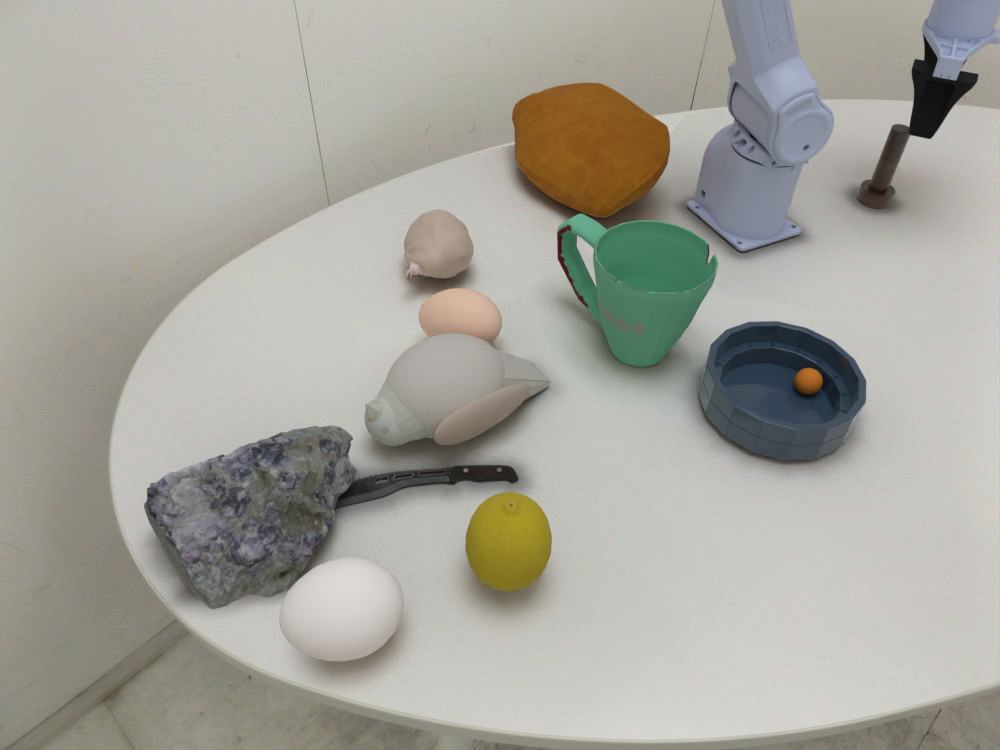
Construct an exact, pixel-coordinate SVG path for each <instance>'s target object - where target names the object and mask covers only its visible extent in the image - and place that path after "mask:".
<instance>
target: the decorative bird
mask: <svg viewBox="0 0 1000 750" xmlns="http://www.w3.org/2000/svg"><path fill="white" fill-rule="evenodd" d="M550 384H551V380H550V379H549V377H547V375H545V373H543V371H542V370H541V369H539V367H538V366H537V365H536V364H535V363H534V362H533V361H530V360H527V359H524V358H522V357H518V356H515V355H512V354H509V353H508V352H504V351H502V350H500V349H496V348H494V347H493V344H492V342H491V343H489V342H488V341H486V340H483V339H480V338H477V337H474V336H470V335H466V334H459V333H449V334H440V335H436V336H432V337H429V336H428V337H427V338H424V339H421V340H420V341H418V342H416V343H414V344H412V345H411V346H409V347H408V348H407V349H405V350H404V351H403V352H402V353H401V354H400V355H399V356H398V357H397V358H396V360H395V361H394V362H393V363H392V365H391V366H390V369H389V370H388V372H387V375H386V378H385V380H384V382H383V383H382V386H381V388H380V390H379V391H378V393H377V396H376V397H375V398H373V399H372V400H371V401H370V402H365V411H364V418H363V419H364V425H365V428H366V430H367V432H368V433H369V435H370V436H371V437H372V438H373V439H374V440H376V441H377V442H379V443H381V444H383V445H385V446H390V447H391V446H392V447H394V446H395V447H397V446H403V445H404V444H407V443H408V442H413V441H417V440H418V441H419V440H422V439H433V440H434V442H435V443H436V444H437V445H440V446H454V445H458V444H461V443H464V442H467V441H469V440H471V439H473V438H475V437H477V436H479V435H481V434H483V433H485V432H486V431H488V430H489V429H491V428H493V427H495V426H496V425H498V424H499V423H501V422H502V421H503V420H505V419H506V418H507V417H509V416H510V415H511V414H512V413H514V411H515V410H517V409H518V408H519V407H520V406H521V405H522V404H523V403H524V402H525V401H526V400H527V399H529V398H531V397H533V396H534V395H536V394H538V393H540V392H542V391H543V390H545V389H547V388H548V387H549V385H550Z"/></svg>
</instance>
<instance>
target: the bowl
mask: <svg viewBox="0 0 1000 750" xmlns="http://www.w3.org/2000/svg"><path fill="white" fill-rule="evenodd" d="M804 368H813V369H815V370H817V371H818V372H819V373H820V374H821V376H822V379H823V384H822V387H821V389H820V390H819V391H818V392H816V393H815V394H811V395H806V394H803V393H801V392H799V391H798V390H797V388H796V387H795V383H794V379H795V376H796V374H797V373H798V372H799V371H800V370H802V369H804ZM698 397H699V400H700V403H701V406H702V408H703V411H704V414H705V416H706V418H707V419H708V420H709V421H710V422H711V423H712V424H713V425H714V426H715V428H717V430H718V431H719V432H720V434H722V436H724V437H725V438H727V439H728V440H730V441H732V442H734V443H735V444H737V445H739V446H741V447H742V448H744V449H745V450H747V451H749V452H751V453H754V454H757V455H761V456H766V457H770V458H773V459H776V460H777V459H778V460H781V461H801V460H816V459H818V458H820V457H823V456H825V455H828V454H830V453H832V452H834V451H837V450H839V449H840V448H841V446H842V445H843V444H844V442H845V441H846V440H847V438H848V437H849V436H850V435H851V433H852V431H853V429H854V428H855V425H856V423H857V421H858V419H859V417H860V415H861V414H862V411H863V409H864V407H865V405H866V403H867V379H866V377H865V375H864V373H863V371H862V369H861V368H860V367H859V364H858V363H857V360H856V359H855V358H854V357H853V356H851V354H849V353H848V352H847V351H846V350H845V349H843V347H841V346H840V345H839V344H838V343H837V342H836V341H834V340H833V339H831V338H829V337H827V336H824V335H823V334H820V333H819V332H816V331H814V330H812V329H810V328H808V327H804V326H800V325H796V324H792V323H788V322H782V321H778V320H769V321H765V320H764V321H748V322H744V323H742V324H739V325H735V326H733V327H730V328H727V329H725V330H724V331H723V332H722V333H721V334H720V335H719V336H718V337H717V338H716V339H715V340H714V341H713V342H712V343H711V344H710V346H709V350H708V353H707V357H706V360H705V364H704V368H703V371H702V374H701V379H700V385H699V387H698Z"/></svg>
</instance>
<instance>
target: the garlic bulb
mask: <svg viewBox="0 0 1000 750" xmlns="http://www.w3.org/2000/svg"><path fill="white" fill-rule="evenodd" d="M403 247H404V252H403V258H404V261H405V264H406V266H407V267H408V269H405V279H406V280H407V281H408V282H409V283H410V284H412V277H413V276H418V275H420V276H424V277H431V278H434V279H445V280H446V279H451V278H454V277H456V276H457V275H458V274H459V273H461V272H463V271H465V270H466V269H468V268H469V266H470V264H471V262H472V260H473V256H474V252H475V251H474V250H475V249H474V243H473V240H472V238H471V237H470V234H469V230H468V227H467V226H466V224H465V223H464V222H463V221H462V220H460V219H459V218H458V217H457V216H455V215H454V214H452V213H451V212H449V211H447V210H445V209H432V210H429V211H426V212H424V213H422V214H420V215H419V216H418V217H417V218H416V219H415V220H414V221H413V222H412V223H410V226H409V227H408V230H407V231H406V234H405V237H404V240H403Z"/></svg>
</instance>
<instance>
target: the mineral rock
mask: <svg viewBox="0 0 1000 750" xmlns="http://www.w3.org/2000/svg"><path fill="white" fill-rule="evenodd" d="M353 440H354V438H353V435H352V434H350V433H349V432H348V431H347V430H346V429H344V428H342V427H341V426H337V425H323V426H318V425H311V426H307V427H303V428H296V429H295V428H294V429H291V430H289V431H280V432H279V433H277V434H275V435H272V436H270V437H267V438H262V439H259V440H258V441H256V442H249V443H247V444H244V445H241V446H239V447H237V448H236V449H235V450H234V451H232V452H231V453H229V454H220V455H217V456H215V457H210V458H208V459H206V460H204V461H203V462H202V461H201V462H198V463H195V464H191V465H189V466H186V467H184V468H181V469H178V470H177V471H170V472H168V473H167V474H165V475H164V476H162V477H161V478H160V479H159V480H157V481H155V482H150V484H149V487H147V488H146V501H145V502H144V504H143V508H144V511H145V515H146V518H147V520H148V522H149V525H150V527H151V528H152V530H153V532H154V534H155V535H156V537H157V539H158V540H159V542H160V544H161V546H162V548H163V549H164V551H165V553H166V555H167V556H168V558H169V560H170V562H171V564H172V566H173V567H174V570H175V571H176V572H177V574H178V576H179V577H180V579H181V580H182V582H183V583H184V584H185V586H186V587H187V589H188V590H189V591H190V592H191V593H193V595H194V596H196V597H197V598H198V599H200V600H201V601H202V602H203V604H204V605H205V606H206V607H207V608H209V609H210V610H217V609H221V608H224V607H228V606H229V605H230V604H231V603H234V602H236V601H238V600H241V599H242V598H243V597H246V596H250V595H254V596H255V595H257V596H260V597H262V598H264V599H265V598H267V599H268V598H272V597H274V596H277V595H279V594H282V593H284V592H287V591H289V589H290V588H291V587H292V586H293V585H294V584H295V583H296V582H297V578H298V577H299V575H301V573H302V572H304V570H305V568H306V566H307V565H308V564H309V562H310V561H311V559H312V557H313V552H314V551H313V550H314V549H315V548H316V547H318V546H319V545H320V544H321V542H322V541H323V540H324V539H325V538H326V536H327V534H328V531H329V530H330V528H331V527H332V525H333V523H334V521H335V520H336V511H335V509H336V508H335V505H336V502H337V499H338V497H339V496H340V495H342V494H343V493H344V492H345V491H346V490H347V489H348V488H349V486H350V485H351V484H352V482H353V481H354V480H356V478H357V473H358V470H357V468H356V466H355V465H354V464H353V463H352V462H351V461H350V460H351V459H350V456H349V453H350V450H351V446H352V441H353Z"/></svg>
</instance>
